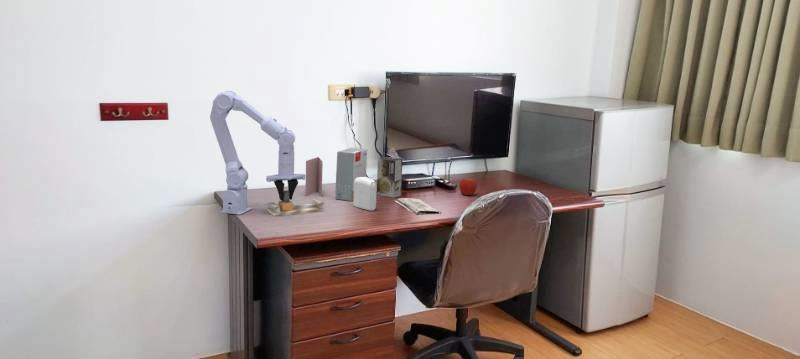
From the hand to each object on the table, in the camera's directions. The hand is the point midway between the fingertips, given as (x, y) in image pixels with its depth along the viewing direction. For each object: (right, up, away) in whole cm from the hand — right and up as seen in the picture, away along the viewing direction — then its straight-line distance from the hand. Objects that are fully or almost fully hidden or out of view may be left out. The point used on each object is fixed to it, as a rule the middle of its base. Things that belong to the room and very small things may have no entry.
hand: (285, 199), depth 236 cm
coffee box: (+38, 0, +37) cm, 53 cm away
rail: (+3, -5, +3) cm, 7 cm away
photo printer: (+28, -4, +13) cm, 32 cm away
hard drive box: (+22, 0, +31) cm, 38 cm away
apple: (+73, 0, +45) cm, 86 cm away
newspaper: (+49, -5, +19) cm, 53 cm away
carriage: (0, -4, +1) cm, 4 cm away
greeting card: (+8, +1, +32) cm, 33 cm away
